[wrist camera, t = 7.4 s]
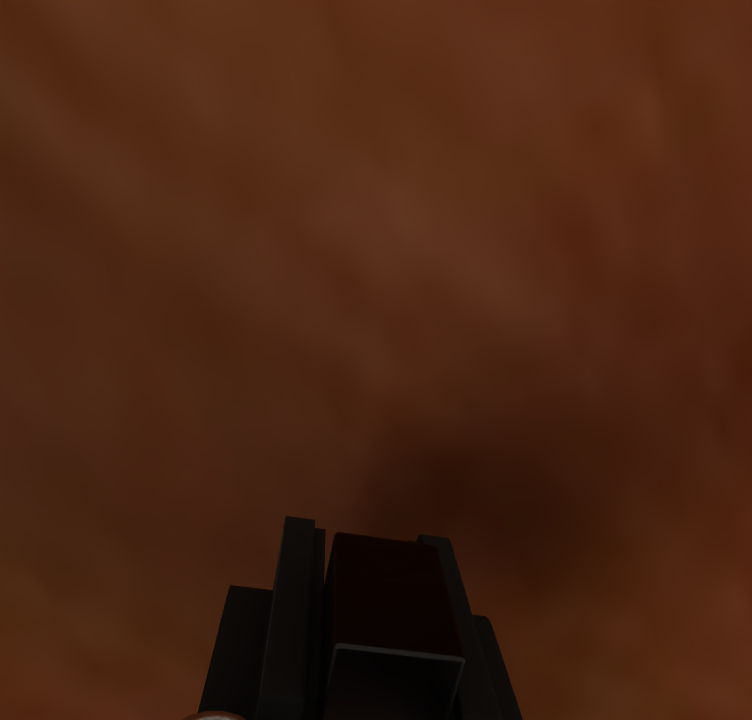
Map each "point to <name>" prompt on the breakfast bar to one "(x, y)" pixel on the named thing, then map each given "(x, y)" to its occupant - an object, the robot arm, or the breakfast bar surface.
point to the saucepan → (387, 633)
